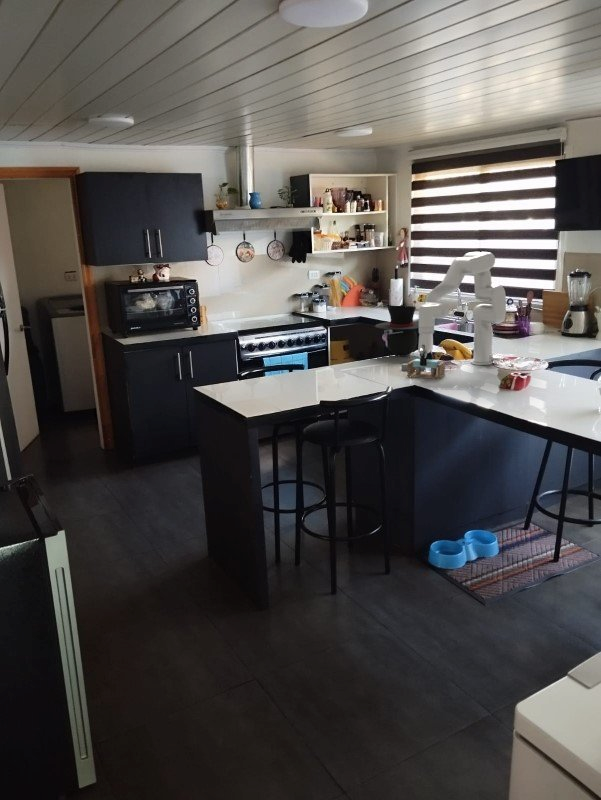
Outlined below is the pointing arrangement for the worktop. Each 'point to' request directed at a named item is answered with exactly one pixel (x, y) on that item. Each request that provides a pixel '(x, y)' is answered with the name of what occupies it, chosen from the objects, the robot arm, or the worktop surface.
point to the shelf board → (429, 363)
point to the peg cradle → (435, 372)
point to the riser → (405, 367)
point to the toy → (400, 330)
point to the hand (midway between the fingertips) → (426, 363)
